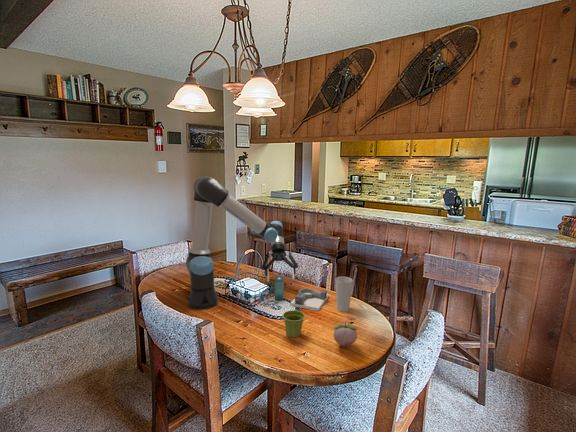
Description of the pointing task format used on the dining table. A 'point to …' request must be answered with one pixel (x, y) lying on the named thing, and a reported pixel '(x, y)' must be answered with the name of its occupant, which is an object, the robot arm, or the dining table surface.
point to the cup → (343, 293)
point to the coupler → (279, 288)
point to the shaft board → (310, 299)
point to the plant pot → (293, 322)
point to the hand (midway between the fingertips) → (281, 280)
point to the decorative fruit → (345, 334)
